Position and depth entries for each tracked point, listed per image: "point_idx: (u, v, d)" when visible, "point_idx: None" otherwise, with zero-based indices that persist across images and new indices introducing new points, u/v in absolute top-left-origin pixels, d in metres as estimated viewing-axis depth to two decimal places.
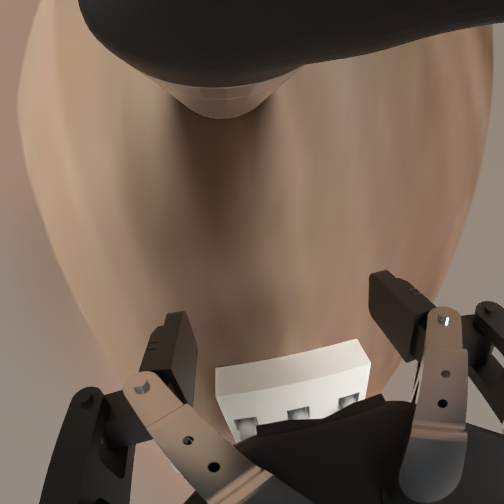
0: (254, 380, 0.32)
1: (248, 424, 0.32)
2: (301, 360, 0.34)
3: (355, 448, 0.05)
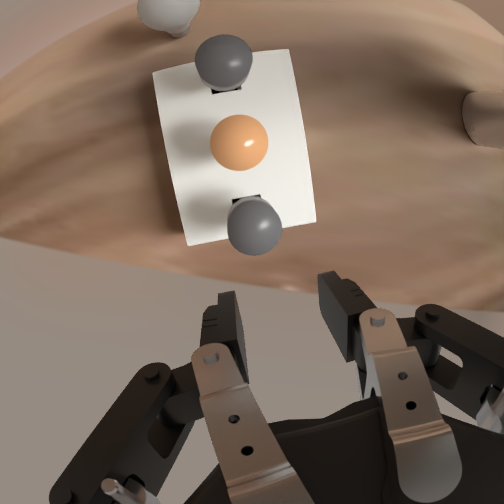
0: None
1: None
2: None
3: (355, 448, 0.05)
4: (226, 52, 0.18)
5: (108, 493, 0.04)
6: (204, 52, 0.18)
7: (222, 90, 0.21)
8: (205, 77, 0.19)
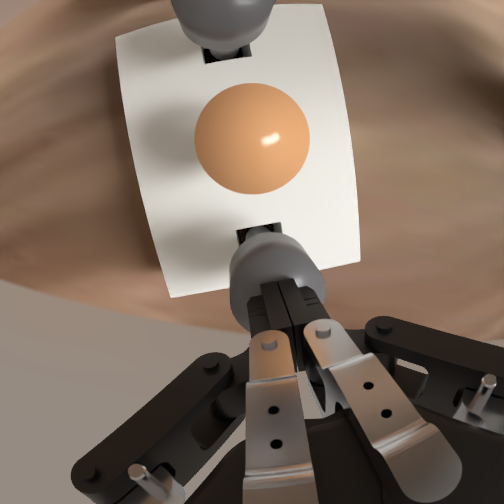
0: None
1: None
2: None
3: (355, 448, 0.05)
4: None
5: None
6: None
7: (220, 48, 0.11)
8: (188, 17, 0.08)
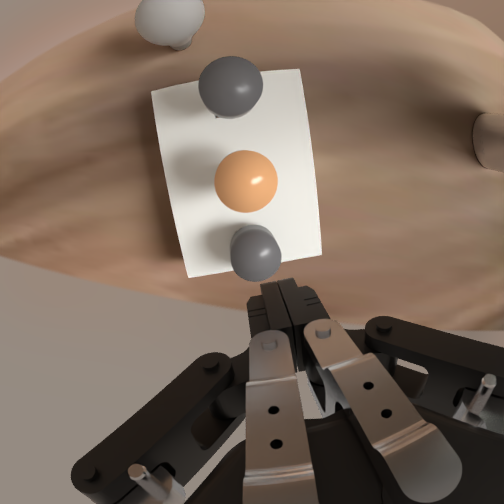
0: None
1: None
2: None
3: (355, 448, 0.05)
4: (233, 77, 0.17)
5: None
6: (209, 76, 0.17)
7: (228, 118, 0.20)
8: (210, 106, 0.18)
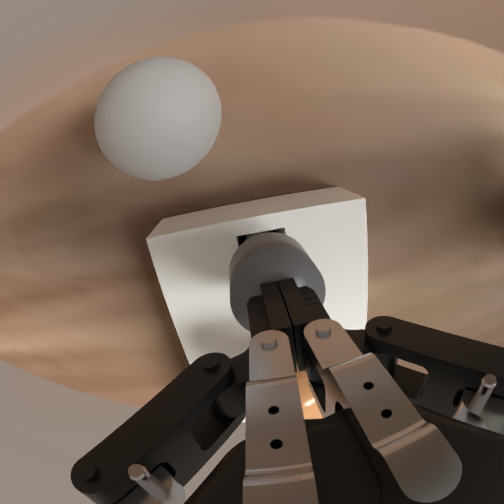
0: None
1: None
2: None
3: (355, 448, 0.05)
4: None
5: None
6: (246, 288, 0.13)
7: None
8: (249, 329, 0.13)
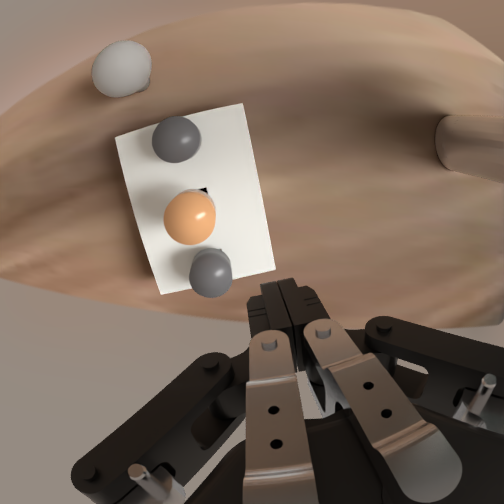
0: None
1: None
2: None
3: (355, 448, 0.05)
4: (176, 133, 0.24)
5: None
6: (159, 134, 0.24)
7: None
8: (161, 158, 0.24)
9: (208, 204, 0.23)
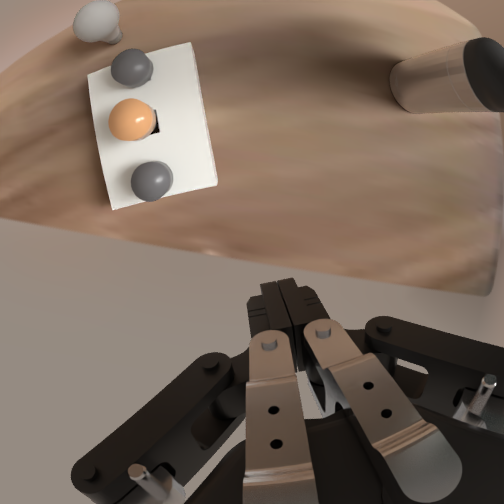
0: (197, 77, 0.31)
1: None
2: (206, 123, 0.35)
3: (355, 448, 0.05)
4: (130, 61, 0.24)
5: None
6: (116, 63, 0.24)
7: (133, 87, 0.28)
8: (116, 80, 0.25)
9: (144, 105, 0.24)
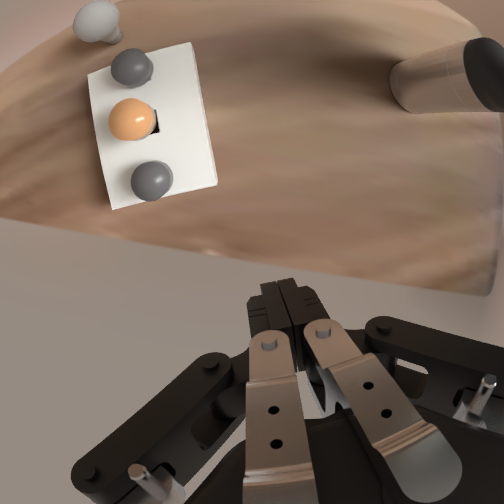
0: (197, 77, 0.31)
1: None
2: (206, 123, 0.35)
3: (355, 448, 0.05)
4: (130, 60, 0.24)
5: None
6: (116, 63, 0.24)
7: (133, 87, 0.28)
8: (116, 80, 0.25)
9: (144, 105, 0.24)
